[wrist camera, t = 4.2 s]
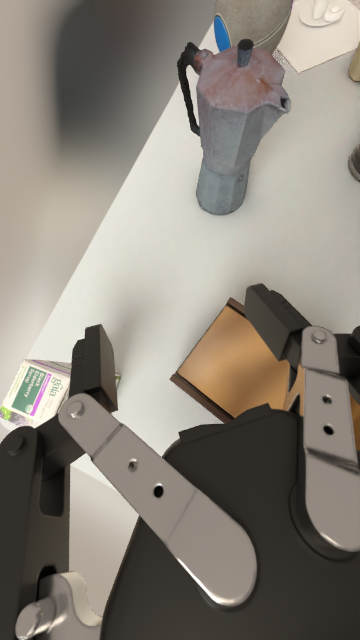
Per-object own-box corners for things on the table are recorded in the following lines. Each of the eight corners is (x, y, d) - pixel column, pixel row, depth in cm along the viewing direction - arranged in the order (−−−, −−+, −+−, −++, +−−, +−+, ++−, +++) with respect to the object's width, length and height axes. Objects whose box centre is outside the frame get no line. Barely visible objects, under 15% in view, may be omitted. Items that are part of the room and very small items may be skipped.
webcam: (286, 82, 46) (325, -53, 31) (230, 109, 46) (244, -15, 31) (253, 46, 49) (274, -91, 35) (201, 71, 49) (201, -57, 34)
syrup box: (90, 363, 36) (19, 356, 22) (123, 375, 35) (71, 376, 21) (75, 398, 35) (-9, 415, 21) (109, 412, 34) (44, 439, 20)
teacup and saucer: (346, 22, 48) (359, -10, 44) (312, 36, 48) (322, 6, 44) (323, 0, 50) (334, -32, 46) (291, 14, 50) (299, -17, 46)
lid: (352, 392, 26) (438, 402, 17) (304, 472, 25) (367, 533, 15) (225, 306, 30) (237, 276, 20) (177, 372, 28) (165, 371, 19)
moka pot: (241, 234, 39) (280, 95, 20) (169, 196, 42) (142, 45, 23) (269, 193, 40) (332, 26, 21) (197, 160, 43) (195, -13, 24)
